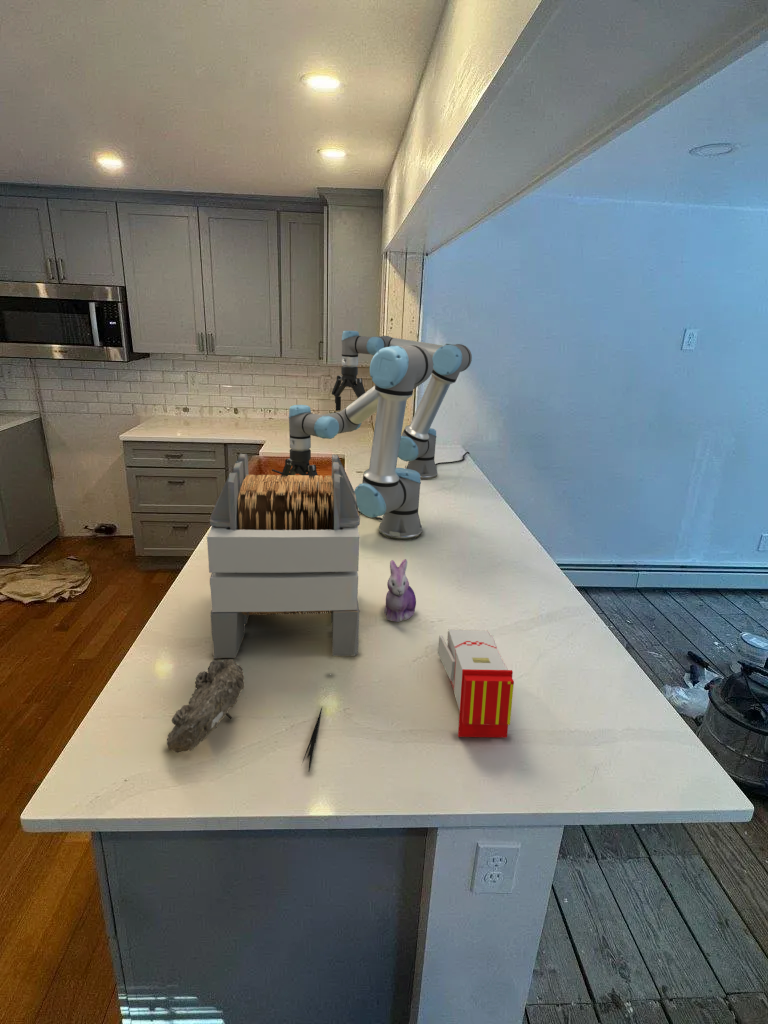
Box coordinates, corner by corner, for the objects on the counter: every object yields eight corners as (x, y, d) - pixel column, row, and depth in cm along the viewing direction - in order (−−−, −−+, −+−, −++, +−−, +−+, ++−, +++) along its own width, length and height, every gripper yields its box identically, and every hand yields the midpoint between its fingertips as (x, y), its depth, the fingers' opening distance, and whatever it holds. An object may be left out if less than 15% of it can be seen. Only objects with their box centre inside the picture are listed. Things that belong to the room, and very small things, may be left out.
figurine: (392, 627, 141) (395, 572, 136) (374, 608, 149) (376, 556, 144) (425, 619, 145) (429, 566, 140) (405, 601, 154) (408, 550, 149)
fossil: (192, 660, 117) (244, 628, 112) (224, 691, 120) (276, 661, 115) (142, 746, 98) (202, 712, 93) (182, 779, 101) (242, 748, 96)
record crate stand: (232, 588, 156) (224, 444, 142) (351, 587, 160) (354, 446, 146) (210, 660, 125) (198, 483, 111) (359, 656, 128) (364, 485, 115)
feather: (331, 679, 122) (336, 673, 122) (307, 777, 96) (313, 769, 95) (324, 675, 122) (329, 669, 121) (298, 772, 95) (304, 764, 95)
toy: (488, 613, 130) (523, 677, 101) (484, 667, 133) (517, 744, 104) (435, 612, 130) (455, 676, 101) (432, 666, 133) (451, 743, 103)
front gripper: (269, 444, 208) (271, 499, 215) (317, 456, 193) (317, 515, 200) (284, 441, 213) (286, 495, 220) (332, 453, 199) (332, 510, 206)
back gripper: (324, 363, 263) (324, 409, 270) (364, 369, 249) (363, 417, 256) (335, 363, 269) (335, 408, 276) (375, 368, 254) (374, 415, 261)
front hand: (300, 504), depth 210 cm, fingers open, 13 cm apart
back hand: (348, 412), depth 266 cm, fingers open, 13 cm apart
